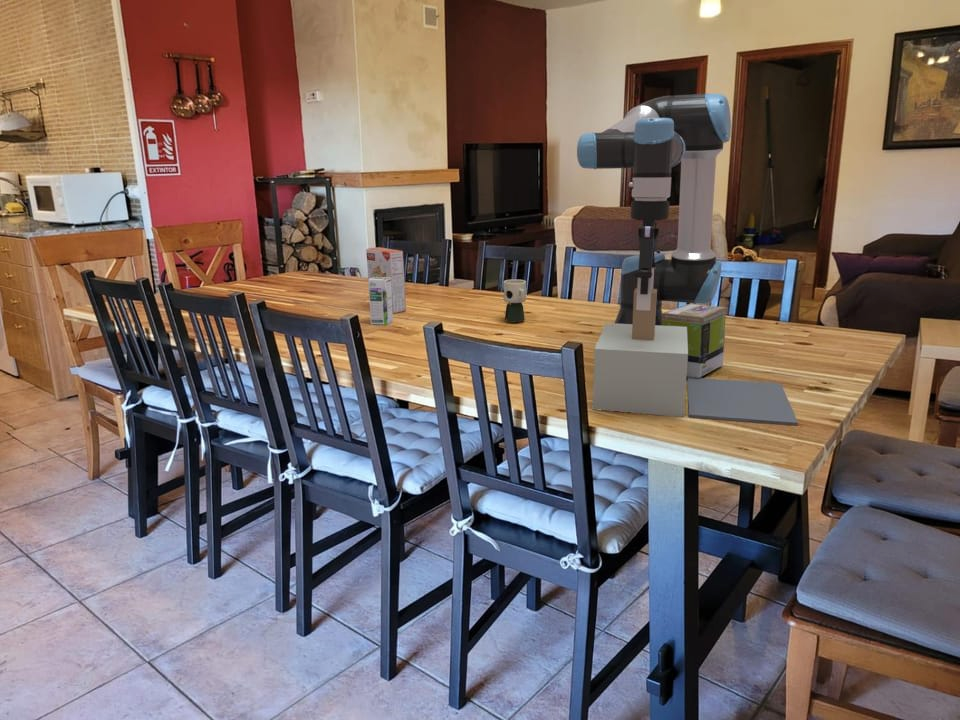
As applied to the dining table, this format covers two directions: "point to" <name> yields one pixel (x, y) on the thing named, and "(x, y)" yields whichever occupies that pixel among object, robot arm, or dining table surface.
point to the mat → (739, 401)
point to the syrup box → (380, 300)
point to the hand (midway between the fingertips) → (644, 303)
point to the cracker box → (389, 272)
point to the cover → (641, 365)
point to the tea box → (700, 335)
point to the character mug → (514, 299)
